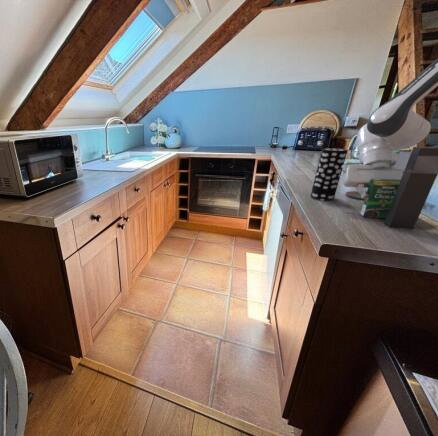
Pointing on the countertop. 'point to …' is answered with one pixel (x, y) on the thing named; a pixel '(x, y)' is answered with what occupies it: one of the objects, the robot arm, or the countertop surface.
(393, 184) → the coffee box
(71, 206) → the countertop surface
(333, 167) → the spotted tube
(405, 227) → the tall grey box
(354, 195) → the coaster
